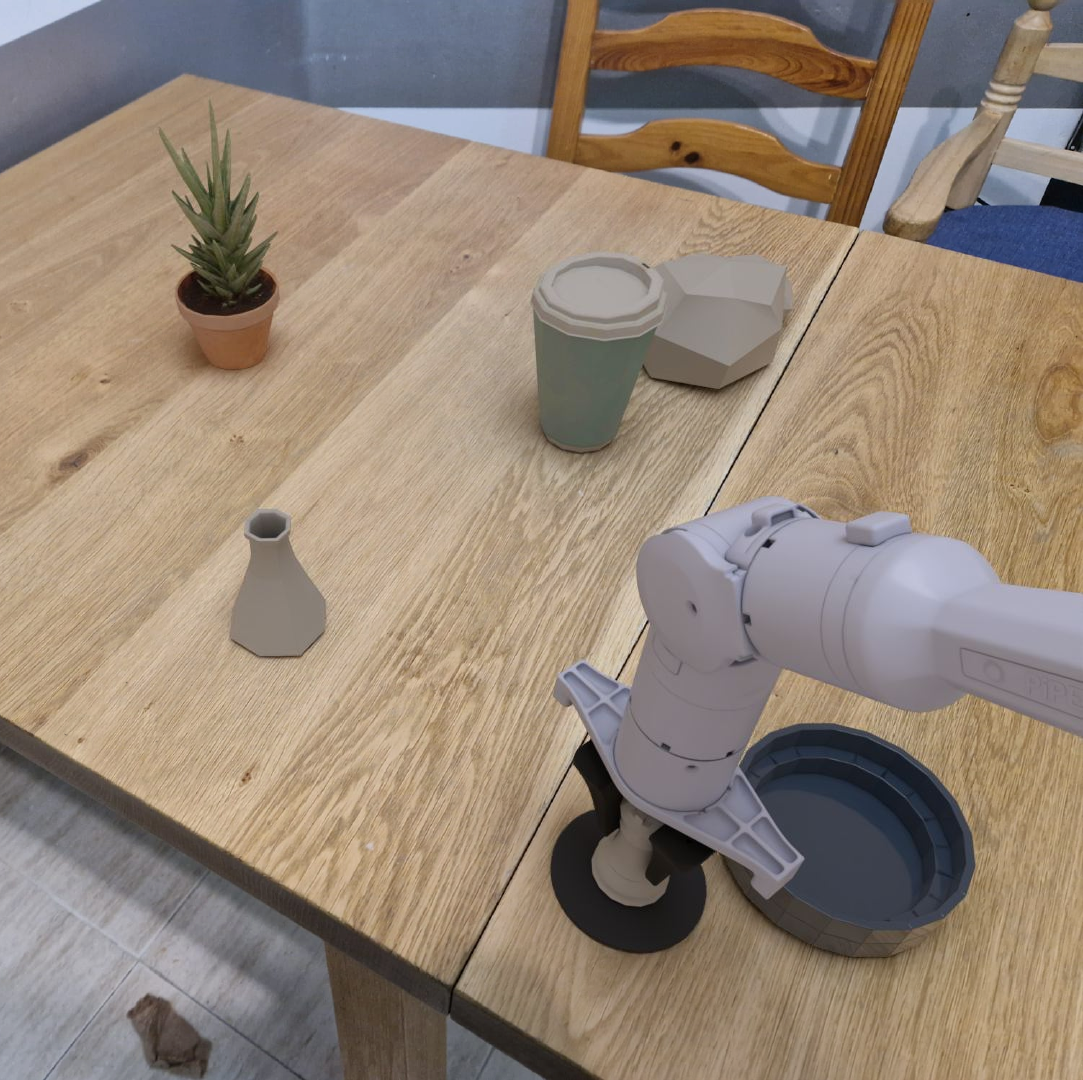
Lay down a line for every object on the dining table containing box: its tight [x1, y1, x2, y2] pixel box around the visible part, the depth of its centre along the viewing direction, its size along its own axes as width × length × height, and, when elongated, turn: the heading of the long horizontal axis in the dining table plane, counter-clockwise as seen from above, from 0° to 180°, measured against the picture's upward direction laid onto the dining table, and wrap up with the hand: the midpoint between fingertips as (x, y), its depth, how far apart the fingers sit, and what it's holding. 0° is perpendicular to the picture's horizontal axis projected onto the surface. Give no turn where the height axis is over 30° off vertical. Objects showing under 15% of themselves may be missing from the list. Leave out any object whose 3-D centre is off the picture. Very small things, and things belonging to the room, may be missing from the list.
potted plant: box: [156, 98, 281, 370], centre depth 89 cm, size 10×10×25 cm
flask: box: [229, 508, 327, 657], centre depth 70 cm, size 7×7×10 cm
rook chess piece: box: [592, 797, 670, 907], centre depth 56 cm, size 4×4×8 cm
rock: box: [642, 252, 794, 390], centre depth 94 cm, size 18×20×10 cm
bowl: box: [724, 722, 977, 958], centre depth 59 cm, size 13×13×4 cm
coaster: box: [550, 809, 707, 954], centre depth 59 cm, size 9×9×1 cm
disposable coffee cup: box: [529, 250, 667, 454], centre depth 83 cm, size 11×11×15 cm
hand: (638, 848), depth 57 cm, fingers closed on rook chess piece, 3 cm apart
